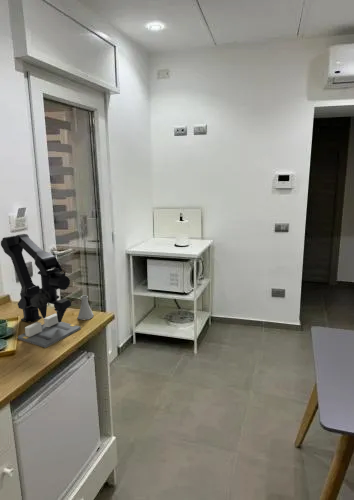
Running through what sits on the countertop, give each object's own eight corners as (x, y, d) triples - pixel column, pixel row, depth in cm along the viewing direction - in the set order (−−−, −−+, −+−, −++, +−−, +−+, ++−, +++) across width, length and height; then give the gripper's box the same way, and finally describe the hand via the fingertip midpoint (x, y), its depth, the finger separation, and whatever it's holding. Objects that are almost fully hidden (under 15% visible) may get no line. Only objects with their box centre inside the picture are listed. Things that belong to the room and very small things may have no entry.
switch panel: (17, 338, 145) (17, 336, 145) (53, 321, 161) (53, 319, 161) (45, 347, 138) (45, 345, 137) (80, 328, 154) (80, 326, 154)
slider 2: (44, 326, 153) (44, 318, 153) (55, 321, 159) (54, 313, 158) (48, 327, 152) (48, 319, 152) (59, 322, 157) (58, 314, 157)
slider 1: (25, 335, 145) (24, 327, 144) (37, 330, 150) (37, 321, 149) (29, 337, 144) (28, 328, 143) (41, 331, 149) (41, 323, 148)
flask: (89, 321, 162) (88, 299, 160) (74, 319, 164) (73, 298, 161) (96, 314, 169) (95, 294, 167) (81, 313, 170) (80, 293, 168)
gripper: (17, 287, 149) (21, 322, 153) (49, 294, 140) (52, 331, 144) (39, 280, 159) (42, 313, 162) (70, 286, 150) (73, 321, 153)
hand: (51, 320), depth 155 cm, fingers open, 9 cm apart
